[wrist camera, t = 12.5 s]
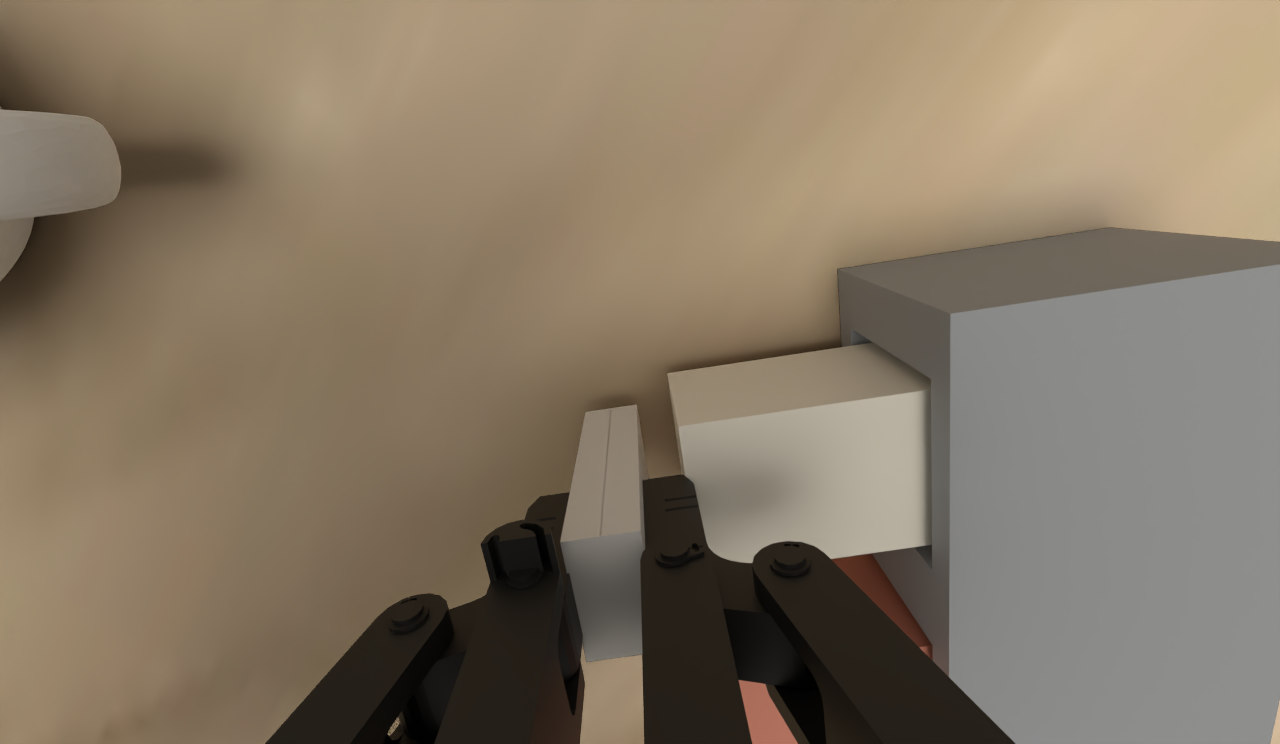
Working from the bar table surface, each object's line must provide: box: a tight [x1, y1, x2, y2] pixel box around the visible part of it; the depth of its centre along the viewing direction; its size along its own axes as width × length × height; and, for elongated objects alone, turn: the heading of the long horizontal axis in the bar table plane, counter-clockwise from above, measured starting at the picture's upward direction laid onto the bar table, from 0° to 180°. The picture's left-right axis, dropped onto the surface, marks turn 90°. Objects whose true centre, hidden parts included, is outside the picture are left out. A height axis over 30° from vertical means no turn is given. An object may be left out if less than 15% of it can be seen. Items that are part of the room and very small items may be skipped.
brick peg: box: [739, 554, 933, 744], centre depth 18 cm, size 9×4×4 cm, turn 99°
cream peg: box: [667, 343, 932, 563], centre depth 16 cm, size 9×4×4 cm, turn 99°
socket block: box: [838, 227, 1280, 744], centre depth 18 cm, size 8×22×6 cm, turn 9°
